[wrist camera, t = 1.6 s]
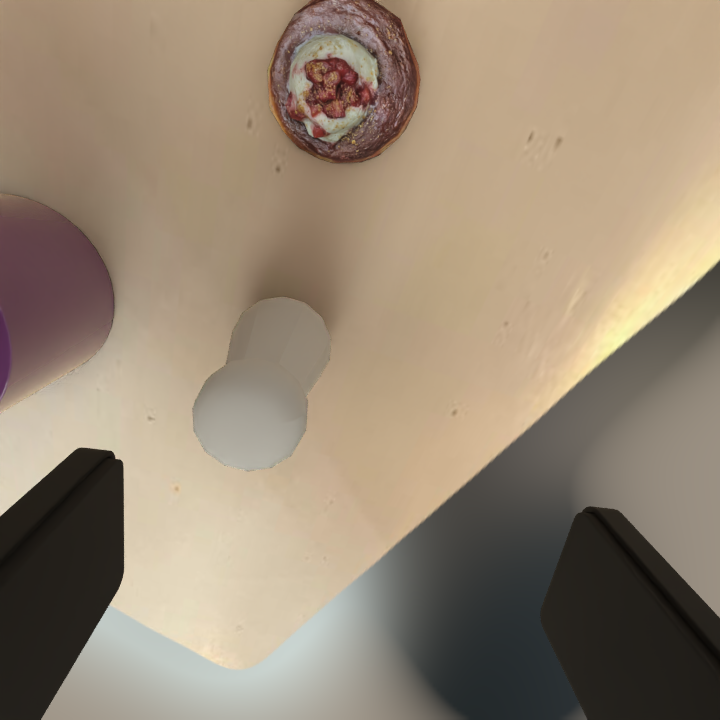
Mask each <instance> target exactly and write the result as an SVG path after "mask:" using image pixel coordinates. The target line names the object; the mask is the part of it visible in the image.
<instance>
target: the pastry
mask: <svg viewBox="0 0 720 720" xmlns="http://www.w3.org/2000/svg"><path fill="white" fill-rule="evenodd" d="M267 72H268V90H269V107H270V109H271V111H272V113H273V114H274V116H275V118H276V120H277V121H278V123H279V125H280V127H281V129H282V130H283V131H284V133H285V134H286V135H287V136H288V137H289V138H290V139H291V140H292V141H293V142H294V143H295V144H296V145H297V146H298V147H299V148H300V149H302V150H304V151H306V152H308V153H310V154H312V155H313V156H315V157H317V158H320V159H323V160H326V161H328V162H331V163H343V162H363V161H366V160H368V159H371V158H373V157H376V156H378V155H380V154H381V153H382V152H383V151H384V150H385V149H387V148H388V147H389V146H390V145H391V144H392V143H393V142H395V141H396V140H397V139H398V138H399V137H400V136H401V134H402V133H403V132H404V130H405V129H406V127H407V125H408V123H409V121H410V119H411V117H412V115H413V113H414V111H415V109H416V107H417V102H418V94H419V86H420V74H419V68H418V63H417V61H416V58H415V55H414V53H413V50H412V48H411V45H410V43H409V40H408V38H407V35H406V33H405V30H404V27H403V25H402V22H401V20H400V19H399V18H398V17H397V16H395V15H394V14H393V13H391V12H390V11H388V10H387V9H385V8H384V7H382V6H381V5H380V4H378V3H377V2H375V1H374V0H312V1H310V2H309V3H308V4H307V5H305V6H304V7H303V8H302V9H300V10H299V11H298V12H297V13H295V14H294V16H293V18H292V19H291V21H290V23H289V24H288V26H287V28H286V30H285V31H284V33H283V35H282V36H281V38H280V40H279V41H278V43H277V46H276V49H275V51H274V54H273V57H272V59H271V62H270V65H269V68H268V70H267Z"/></svg>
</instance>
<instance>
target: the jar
mask: <svg viewBox="0 0 720 720" xmlns="http://www.w3.org/2000/svg"><path fill="white" fill-rule="evenodd" d="M113 315H114V295H113V290H112V284H111V281H110V278H109V275H108V272H107V269H106V267H105V265H104V263H103V261H102V259H101V257H100V256H99V254H98V252H97V251H96V249H95V248H94V246H93V245H92V244H91V242H90V241H89V240H88V239H87V237H86V236H85V235H84V234H83V233H82V232H81V231H80V230H79V229H78V228H77V227H76V226H75V225H73V224H72V223H71V222H70V221H69V220H67V219H66V218H65V217H63V216H62V215H60V214H59V213H57V212H56V211H54V210H53V209H51V208H49V207H47V206H45V205H43V204H41V203H38V202H36V201H33V200H30V199H28V198H24V197H20V196H16V195H10V194H1V193H0V413H2V412H4V411H5V410H7V409H9V408H10V407H12V406H14V405H15V404H17V403H19V402H20V401H22V400H24V399H25V398H27V397H29V396H30V395H32V394H34V393H36V392H37V391H39V390H41V389H42V388H44V387H46V386H47V385H49V384H51V383H52V382H54V381H56V380H57V379H59V378H61V377H62V376H64V375H66V374H67V373H69V372H71V371H72V370H74V369H76V368H77V367H79V366H81V365H82V364H84V363H85V362H87V361H88V360H89V359H90V358H92V357H93V356H94V355H95V354H96V353H97V352H98V350H99V349H100V348H101V347H102V345H103V343H104V342H105V340H106V338H107V336H108V334H109V331H110V329H111V325H112V321H113Z"/></svg>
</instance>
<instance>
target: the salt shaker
mask: <svg viewBox="0 0 720 720" xmlns="http://www.w3.org/2000/svg"><path fill="white" fill-rule="evenodd" d="M330 349H331V337H330V335H329V333H328V330H327V328H326V326H325V323H324V321H323V318H322V317H321V316H320V315H319V314H318V313H317V312H316V311H314V310H313V309H312V308H311V307H310V306H309V305H308V304H307V303H305V302H301V301H298V300H295V299H292V298H288V297H285V296H284V297H277V298H270V299H263V300H260V301H259V302H257V303H256V304H254V305H253V306H251V307H250V308H249V309H247V310H246V311H244V312H243V313H242V315H241V317H240V318H239V320H238V322H237V324H236V326H235V328H234V330H233V331H232V335H231V341H230V346H229V351H228V356H227V361H226V365H225V366H223V367H222V368H221V369H219V370H218V371H216V372H215V373H213V374H212V375H211V376H210V377H209V378H208V379H207V380H206V381H205V383H204V385H203V387H202V389H201V391H200V393H199V394H198V396H197V398H196V400H195V403H194V406H193V426H194V433H195V434H196V436H197V438H198V440H199V442H200V443H201V445H202V447H203V449H204V451H205V452H206V453H208V454H209V455H211V456H212V457H213V458H215V459H216V460H218V461H219V462H220V463H222V464H223V465H225V466H229V467H233V468H237V469H241V470H244V471H254V470H260V469H267V468H272V467H274V466H275V465H277V464H279V463H280V462H282V461H283V460H285V459H287V458H288V457H290V456H291V455H292V453H293V452H294V450H295V448H296V446H297V445H298V443H299V441H300V440H301V438H302V436H303V435H304V433H305V431H306V424H307V409H308V400H307V398H306V396H307V395H308V393H309V392H310V390H311V389H312V387H313V386H314V385H315V383H316V382H317V380H318V379H319V377H320V376H321V374H322V372H323V371H324V369H325V367H326V365H327V364H328V362H329V360H330Z"/></svg>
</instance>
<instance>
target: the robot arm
mask: <svg viewBox="0 0 720 720" xmlns="http://www.w3.org/2000/svg"><path fill="white" fill-rule="evenodd" d="M123 573H124V479H123V462H122V461H121V460H118V459H115V455H114V453H113V452H112V451H107V450H99V449H90V448H78V449H76V450H75V451H74V452H73V453H71V454H70V455H69V456H68V457H67V458H66V459H65V460H64V461H62V462H61V463H60V464H59V465H58V466H57V467H56V468H55V469H53V470H52V471H51V472H50V473H49V474H48V475H47V476H45V477H44V478H43V479H42V480H41V481H40V482H39V483H38V484H36V485H35V486H34V487H33V488H32V489H31V490H30V491H28V492H27V493H26V494H25V495H24V496H23V497H22V498H21V499H19V500H18V501H17V502H16V503H15V504H14V505H13V506H12V507H10V508H9V509H8V510H7V511H6V512H5V513H4V514H2V515H1V516H0V720H41V718H42V717H43V715H44V713H45V712H46V710H47V708H48V707H49V705H50V703H51V702H52V700H53V698H54V696H55V695H56V693H57V691H58V690H59V688H60V686H61V685H62V683H63V681H64V679H65V678H66V676H67V675H68V673H69V671H70V670H71V668H72V666H73V665H74V663H75V661H76V660H77V658H78V656H79V655H80V653H81V651H82V649H83V648H84V646H85V644H86V643H87V641H88V639H89V638H90V636H91V634H92V633H93V631H94V629H95V628H96V626H97V624H98V623H99V621H100V619H101V618H102V616H103V614H104V613H105V611H106V609H107V608H108V606H109V604H110V602H111V601H112V599H113V597H114V596H115V594H116V592H117V591H118V589H119V587H120V584H121V581H122V578H123ZM540 616H541V623H542V627H543V629H544V631H545V633H546V635H547V637H548V639H549V642H550V643H551V646H552V648H553V650H554V652H555V654H556V656H557V658H558V660H559V662H560V664H561V666H562V668H563V670H564V672H565V674H566V676H567V678H568V681H569V683H570V685H571V687H572V689H573V691H574V693H575V695H576V697H577V699H578V701H579V703H580V705H581V707H582V709H583V711H584V713H585V715H586V717H587V720H720V618H719V617H718V616H717V615H716V614H715V612H714V611H713V610H712V609H711V608H710V607H709V606H708V605H707V604H706V603H705V602H704V601H703V600H702V599H701V598H700V596H699V595H698V594H696V592H695V591H694V590H693V589H692V588H691V587H690V586H689V585H688V584H687V583H686V582H685V580H684V579H682V577H681V576H680V575H679V574H678V573H677V572H676V571H675V570H674V569H673V568H672V567H671V566H670V564H669V563H667V561H666V560H665V559H664V558H663V557H662V556H661V555H660V554H659V553H658V552H657V551H656V550H655V549H654V547H653V546H652V545H651V544H650V543H649V542H648V541H647V540H646V539H645V538H644V537H643V536H642V535H641V534H640V533H639V531H637V529H635V527H634V526H633V525H632V524H631V523H630V522H629V521H628V520H627V519H626V518H625V517H624V515H623V514H622V513H620V512H619V511H618V510H615V509H608V508H599V507H586V508H585V509H584V510H583V511H582V512H581V513H578V514H577V515H576V516H575V518H574V521H573V523H572V526H571V529H570V532H569V534H568V537H567V540H566V542H565V545H564V548H563V551H562V553H561V556H560V559H559V562H558V564H557V567H556V570H555V572H554V575H553V578H552V580H551V583H550V586H549V588H548V591H547V594H546V597H545V599H544V602H543V605H542V608H541V615H540Z"/></svg>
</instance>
